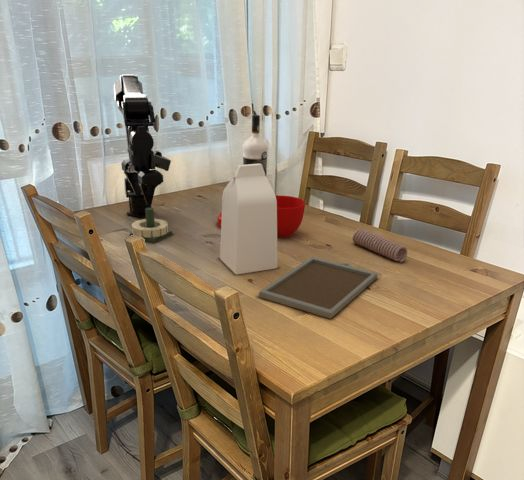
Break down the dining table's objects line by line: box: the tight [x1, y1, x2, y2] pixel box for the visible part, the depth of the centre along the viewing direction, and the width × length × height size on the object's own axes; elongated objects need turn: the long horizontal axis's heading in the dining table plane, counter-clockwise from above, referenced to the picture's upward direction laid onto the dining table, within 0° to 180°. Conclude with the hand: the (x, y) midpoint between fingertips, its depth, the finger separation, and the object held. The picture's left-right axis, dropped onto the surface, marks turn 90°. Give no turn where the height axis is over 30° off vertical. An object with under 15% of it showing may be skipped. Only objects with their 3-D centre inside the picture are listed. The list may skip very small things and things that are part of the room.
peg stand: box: [129, 207, 173, 244], centre depth 164 cm, size 9×9×8 cm
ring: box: [131, 218, 169, 238], centre depth 165 cm, size 10×10×2 cm
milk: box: [219, 164, 279, 275], centre depth 144 cm, size 12×12×26 cm
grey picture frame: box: [258, 256, 378, 320], centre depth 139 cm, size 19×2×30 cm
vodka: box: [242, 114, 269, 177], centre depth 185 cm, size 9×9×30 cm
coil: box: [352, 228, 408, 263], centre depth 159 cm, size 5×5×18 cm
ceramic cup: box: [275, 195, 306, 238], centre depth 170 cm, size 13×17×10 cm
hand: (144, 200), depth 164 cm, fingers open, 9 cm apart
